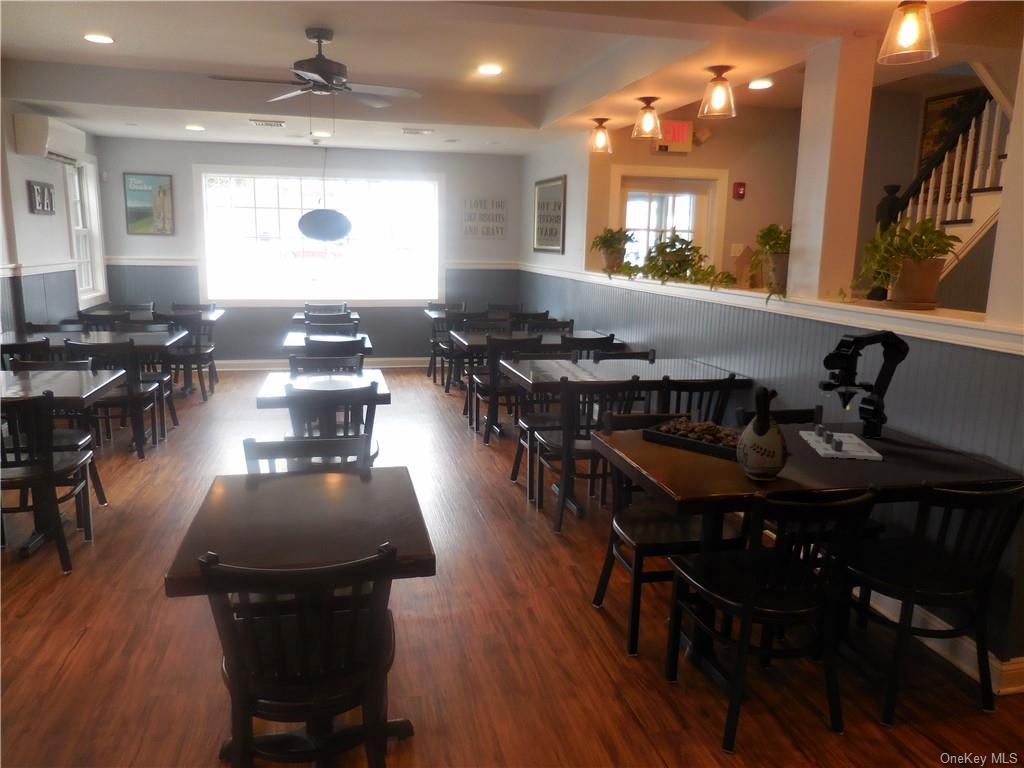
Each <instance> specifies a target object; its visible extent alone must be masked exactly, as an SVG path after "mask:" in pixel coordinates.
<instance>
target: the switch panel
mask: <svg viewBox="0 0 1024 768" xmlns="http://www.w3.org/2000/svg"><path fill="white" fill-rule="evenodd" d="M832 433H833V434H834V437H833V438H835V439H840V440H841V441H843V446H842V451H834V450H833V449H832V448H831V443H825V442H824V441H823V440H822V439H823V436H817V435H816V434H815V431H809V430H808V431H806V430H799V435H801V436H802V437H801V436H800V437H801V438H802V439H804V441H806V440H807V441H808V442H807V441H806V442H807V443H808V444H809V443H810V444H809V446H811V447H812V448H813V449H814V448H815V449H816V450H815V449H814V450H815V451H816V452H817V453H818V454H819V455H820V456H821V457H822V458H831V457H834V458H835V459H847V458H856V459H855V460H864V459H868V460H867V461H882V460H883V456H882V455H881V454H880V453H879V452H877V450H875V449H873V448H872V447H870V446H869V445H868V444H867V443H865V442H864V441H863V440H861V439H860V438H859V437H858V436H856V435H855V434H854V433H845V432H844V433H843V432H832ZM836 457H838V458H836ZM834 458H833V459H834ZM882 462H883V461H882Z"/></svg>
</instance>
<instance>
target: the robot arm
mask: <svg viewBox="0 0 1024 768" xmlns="http://www.w3.org/2000/svg"><path fill="white" fill-rule="evenodd" d="M877 344H880V346H881V347H882V349H883V350H882V357H883V362H882V365H881V367H880V370H879V372H878V374H877V377H876V379H875V382H874V384H873V383H871V382H869V381H859V382H858V384H857V383H856V377H857V376H858V372H857V371H858V370H857V368H858V363H859V362H858V361H859V357H862V356H863V354H862V353H861V352H860V351H862V350H864V349H865V348H866V347H867V346H873V345H877ZM909 352H910V346H909V343H907V342H906V341H905V340H904V339H903V338H901V337H899V335H897V334H896V333H895V332H894V331H893V330H887V329H886V330H885V329H882V330H881V329H880V330H879V331H874V332H869V333H866V334H860V335H859V334H843V335H842V336H841V338H840V339H839V341H838V343H837V344H836V345H835V347H834V349H833V351H828V354H827V355H825V357H824V358H823V361H822V362H823V363H822V364H823V367H824V368H825V370H827V371H829V373H828V380H821V381H819V382H818V389H820V390H821V391H824V392H833V391H834V392H835V393H837V395H838V397H839V400H840V404H841V408H842V409H843V410H845V409H847V407H848V406H849V404H850V403H851V401H852V399H854V397H855V396H856V395H858V394H859V392H858V390H864V392H866V393H869V395H868V396H866V397H865V396H863V397H862V398H861V400H860V403H859V405H858V415H859V420H861V421H862V423H861V424H860V432H859V434H860V435H861V434H862V435H864V436H869V437H882V432H883V431H882V430H883V425H886V424H887V423H888V420H889V417H888V416H887V415H886V414H885V408H886V407H885V400H884V399H885V396H886V394H887V391H888V389H889V387H890V384H891V381H892V379H893V377H894V374H895V372H896V370H897V366H898V365H899V364H901V363H902V362H903V361H905V360H906V357H907V356H908V355H909ZM837 370H838V372H837V373H836V371H837ZM862 435H861V436H862Z"/></svg>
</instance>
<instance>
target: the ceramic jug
mask: <svg viewBox="0 0 1024 768" xmlns="http://www.w3.org/2000/svg"><path fill="white" fill-rule="evenodd" d="M778 394H779V393H778V391H777V390H776V389H775V388H773V389H772V388H771V389H770V390H769V389H768V388H767V387H766V386H762V385H761V386H757V387H756V388H755V393H754V403H755V404H754V405H755V411H756V413H755V414H756V415H755V416H754V418H752V420H751V421H750V422H749V423H748V425H747V426H746V427H745V429H744V430H743V431H742V432H743V433H742V435H741V437H740V439H739V442H738V447H737V458H738V461H739V462H738V461H737V462H738V463H739V465H740V466H741V468H743V471H744V472H745V474H746V475H747V476H748V477H747V476H746V477H747V478H749V477H750V478H749V479H752V480H753V481H770V482H771V481H772V482H773V481H775V480H777V478H778V477H777V475H779V474H780V473H781V472H782V470H784V468H785V466H786V464H787V462H788V458H789V450H788V445H787V441H786V438H785V436H784V434H783V431H782V430H781V428H780V427H779V425H778V423H777V421H776V420H775V419H774V417H773V415H772V413H771V411H770V409H771V408H770V407H771V402H772V400H773V399H775V398H777V397H778Z"/></svg>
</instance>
